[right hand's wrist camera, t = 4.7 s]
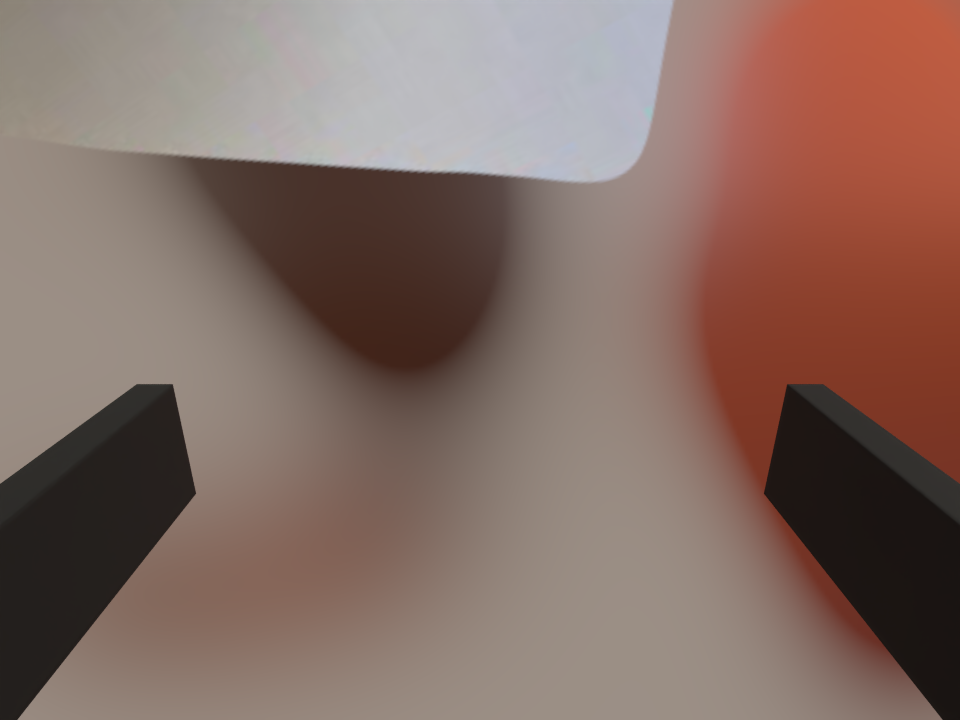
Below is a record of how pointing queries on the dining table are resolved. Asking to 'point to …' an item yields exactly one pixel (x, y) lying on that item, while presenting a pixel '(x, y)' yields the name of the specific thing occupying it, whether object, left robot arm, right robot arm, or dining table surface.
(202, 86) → the dining table surface
